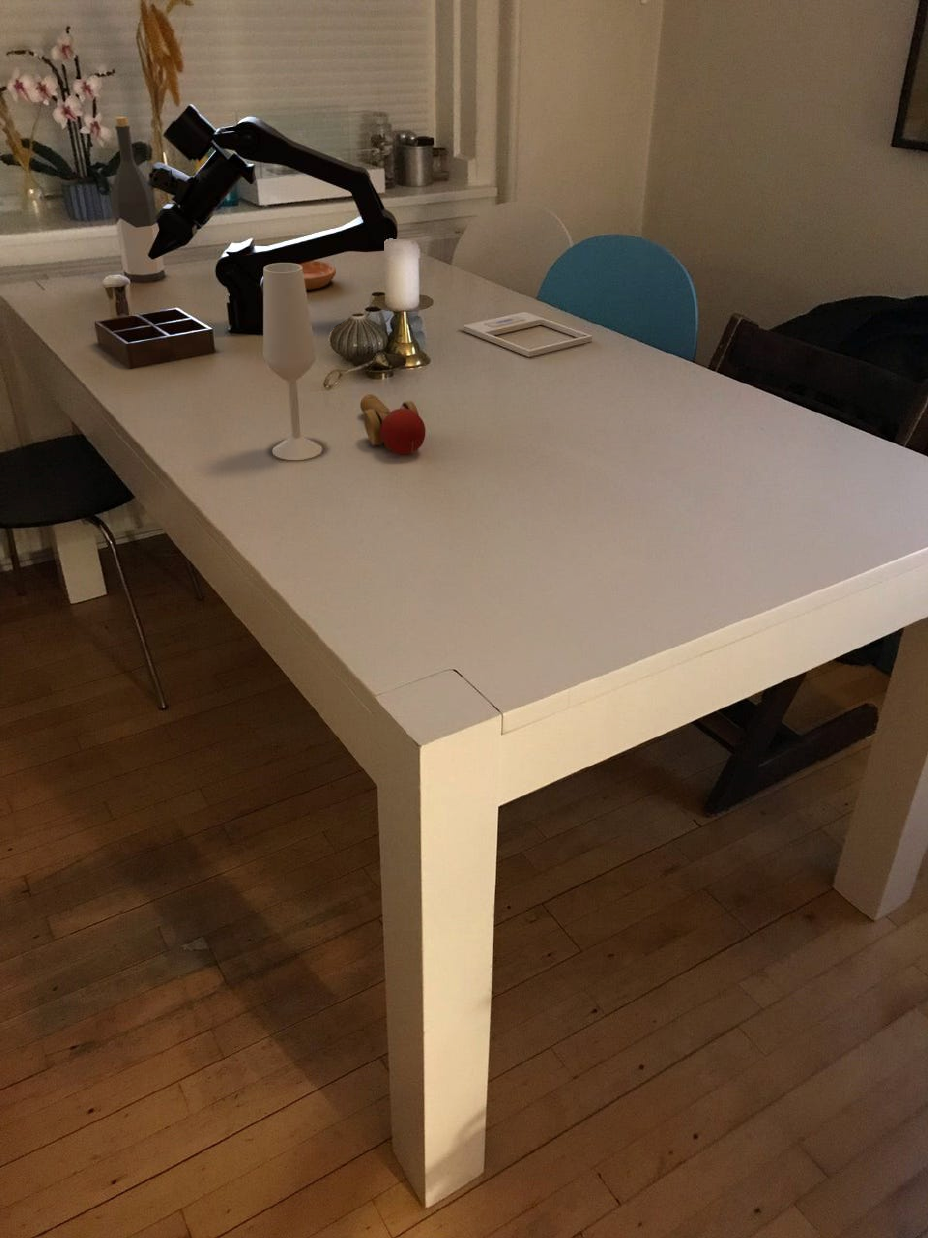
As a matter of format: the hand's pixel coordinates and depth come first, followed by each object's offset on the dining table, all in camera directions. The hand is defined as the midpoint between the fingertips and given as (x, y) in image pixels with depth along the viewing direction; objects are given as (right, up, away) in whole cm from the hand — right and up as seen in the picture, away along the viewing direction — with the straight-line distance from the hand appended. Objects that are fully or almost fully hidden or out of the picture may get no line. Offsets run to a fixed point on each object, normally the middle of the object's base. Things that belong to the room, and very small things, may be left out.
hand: (156, 250), depth 178 cm
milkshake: (-7, -11, +7) cm, 15 cm away
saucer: (+19, +5, +34) cm, 39 cm away
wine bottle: (-13, +7, +36) cm, 39 cm away
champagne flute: (+30, -41, -38) cm, 63 cm away
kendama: (+42, -38, -34) cm, 66 cm away
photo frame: (+64, -13, +5) cm, 66 cm away
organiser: (+1, -17, -3) cm, 18 cm away
